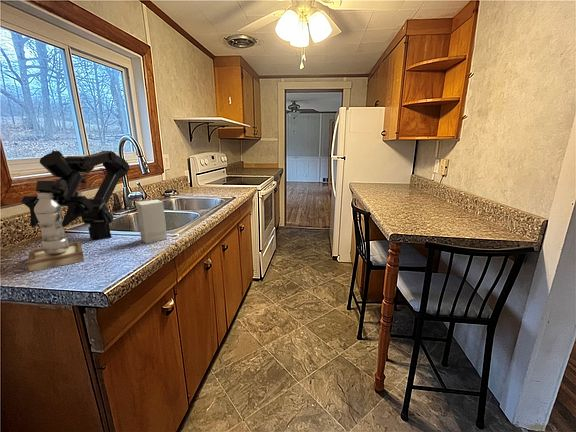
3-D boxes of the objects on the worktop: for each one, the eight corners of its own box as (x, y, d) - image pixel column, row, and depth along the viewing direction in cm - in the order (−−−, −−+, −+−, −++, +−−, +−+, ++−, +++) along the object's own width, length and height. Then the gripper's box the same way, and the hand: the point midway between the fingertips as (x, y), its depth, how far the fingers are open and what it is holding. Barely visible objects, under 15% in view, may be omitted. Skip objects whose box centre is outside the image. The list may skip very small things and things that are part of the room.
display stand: (81, 249, 97) (80, 241, 96) (84, 260, 87) (82, 252, 87) (32, 257, 89) (30, 249, 88) (29, 271, 79) (27, 262, 79)
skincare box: (161, 235, 113) (158, 199, 110) (168, 239, 109) (164, 201, 105) (140, 240, 108) (135, 201, 104) (145, 244, 103) (140, 204, 99)
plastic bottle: (73, 252, 89) (61, 191, 84) (46, 258, 84) (32, 194, 79) (67, 247, 93) (56, 189, 88) (41, 253, 88) (28, 192, 83)
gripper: (19, 170, 85) (-8, 212, 77) (81, 170, 86) (61, 212, 78) (45, 191, 94) (23, 231, 86) (100, 191, 95) (84, 230, 87)
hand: (47, 226), depth 84 cm, fingers open, 9 cm apart
